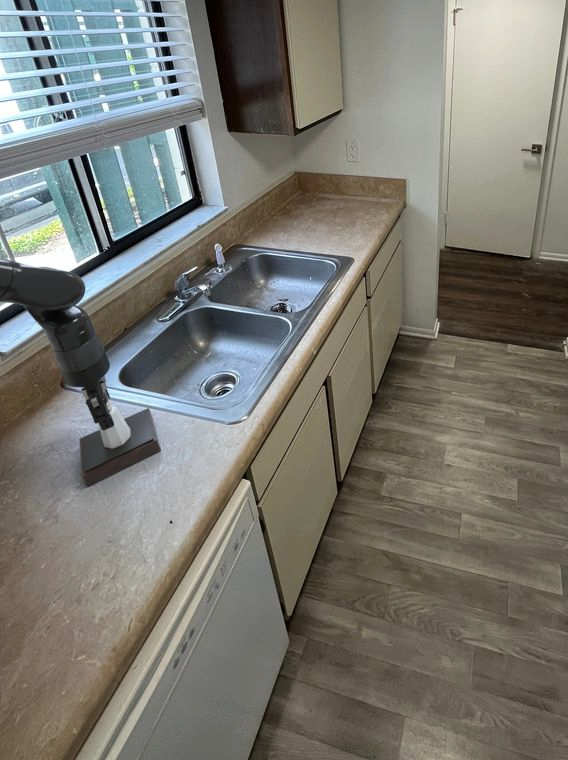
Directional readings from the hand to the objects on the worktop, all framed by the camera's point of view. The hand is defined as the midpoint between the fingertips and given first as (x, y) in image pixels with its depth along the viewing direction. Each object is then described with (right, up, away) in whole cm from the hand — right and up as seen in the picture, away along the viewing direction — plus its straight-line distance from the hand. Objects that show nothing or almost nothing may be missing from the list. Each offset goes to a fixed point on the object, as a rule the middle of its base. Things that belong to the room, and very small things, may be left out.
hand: (106, 413), depth 94 cm
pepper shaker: (0, -7, +4) cm, 8 cm away
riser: (0, -11, +5) cm, 12 cm away
